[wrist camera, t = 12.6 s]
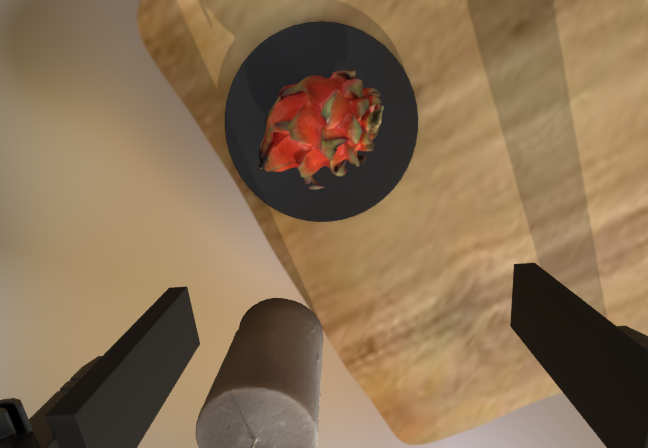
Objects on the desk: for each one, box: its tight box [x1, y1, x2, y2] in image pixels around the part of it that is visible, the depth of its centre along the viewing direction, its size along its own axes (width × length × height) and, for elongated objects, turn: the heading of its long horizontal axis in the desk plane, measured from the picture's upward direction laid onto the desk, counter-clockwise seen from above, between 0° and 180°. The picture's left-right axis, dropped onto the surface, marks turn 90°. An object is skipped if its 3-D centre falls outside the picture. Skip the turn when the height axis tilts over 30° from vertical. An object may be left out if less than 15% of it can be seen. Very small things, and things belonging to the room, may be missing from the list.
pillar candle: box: [196, 298, 323, 448], centre depth 34 cm, size 10×10×15 cm
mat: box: [225, 22, 418, 222], centre depth 34 cm, size 18×18×1 cm
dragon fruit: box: [259, 69, 384, 189], centre depth 30 cm, size 8×8×12 cm
